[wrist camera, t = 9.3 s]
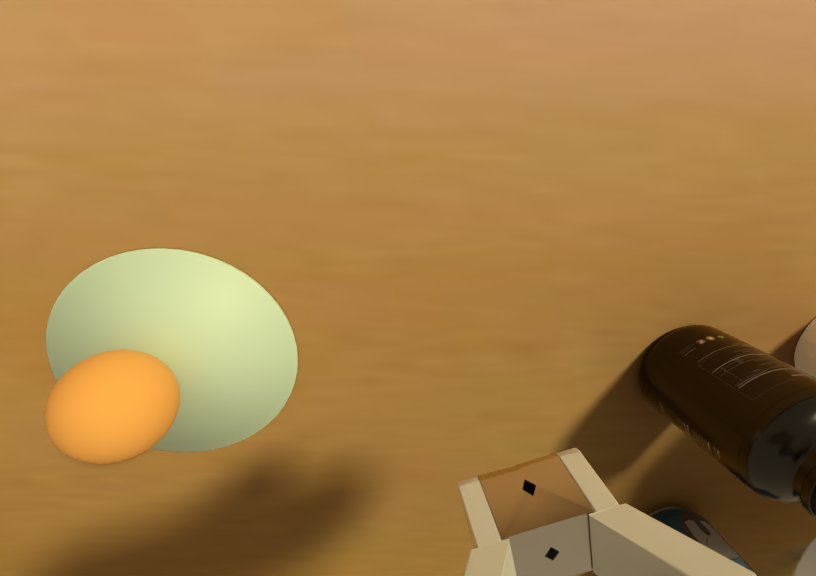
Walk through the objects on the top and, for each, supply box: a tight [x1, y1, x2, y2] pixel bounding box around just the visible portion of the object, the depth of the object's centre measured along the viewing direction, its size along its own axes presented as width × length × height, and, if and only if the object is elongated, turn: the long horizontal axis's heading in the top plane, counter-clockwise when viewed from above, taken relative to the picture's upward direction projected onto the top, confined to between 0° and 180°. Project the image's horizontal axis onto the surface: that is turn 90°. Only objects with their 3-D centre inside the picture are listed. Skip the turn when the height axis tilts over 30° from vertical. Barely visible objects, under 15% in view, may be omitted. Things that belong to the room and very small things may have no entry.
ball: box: [45, 350, 180, 464], centre depth 20 cm, size 6×6×6 cm
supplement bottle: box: [640, 325, 816, 518], centre depth 23 cm, size 7×7×12 cm
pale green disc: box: [46, 248, 298, 452], centre depth 23 cm, size 13×13×1 cm
